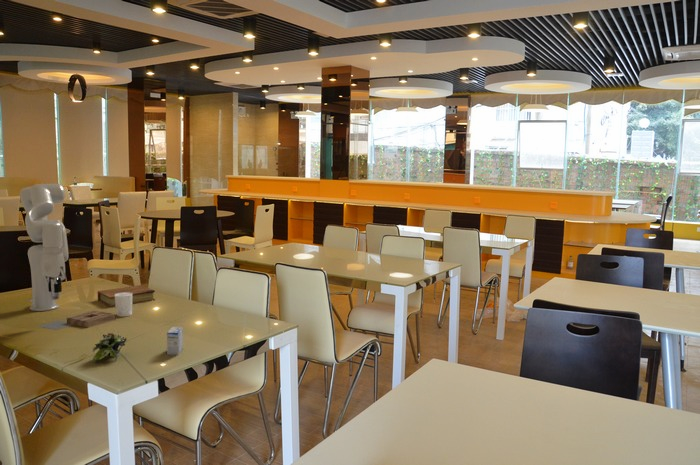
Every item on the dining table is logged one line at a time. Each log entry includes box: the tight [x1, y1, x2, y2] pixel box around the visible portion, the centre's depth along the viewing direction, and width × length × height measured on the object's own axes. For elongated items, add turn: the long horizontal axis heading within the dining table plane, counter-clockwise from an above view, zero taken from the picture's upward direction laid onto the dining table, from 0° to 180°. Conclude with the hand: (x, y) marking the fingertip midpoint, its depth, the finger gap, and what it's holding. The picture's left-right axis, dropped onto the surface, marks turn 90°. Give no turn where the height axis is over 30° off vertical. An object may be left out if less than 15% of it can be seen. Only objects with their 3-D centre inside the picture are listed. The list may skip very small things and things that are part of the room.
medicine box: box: [166, 326, 184, 356], centre depth 215 cm, size 8×4×9 cm, turn 5°
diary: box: [97, 284, 156, 308], centre depth 295 cm, size 23×19×6 cm
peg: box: [51, 277, 60, 300], centre depth 246 cm, size 3×3×10 cm
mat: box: [38, 320, 75, 331], centre depth 248 cm, size 12×10×1 cm
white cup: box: [115, 292, 133, 318], centre depth 266 cm, size 8×8×10 cm
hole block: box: [66, 309, 116, 328], centre depth 254 cm, size 14×14×3 cm
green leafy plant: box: [92, 332, 127, 363], centre depth 206 cm, size 11×11×12 cm
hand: (55, 291), depth 246 cm, fingers closed on peg, 3 cm apart
